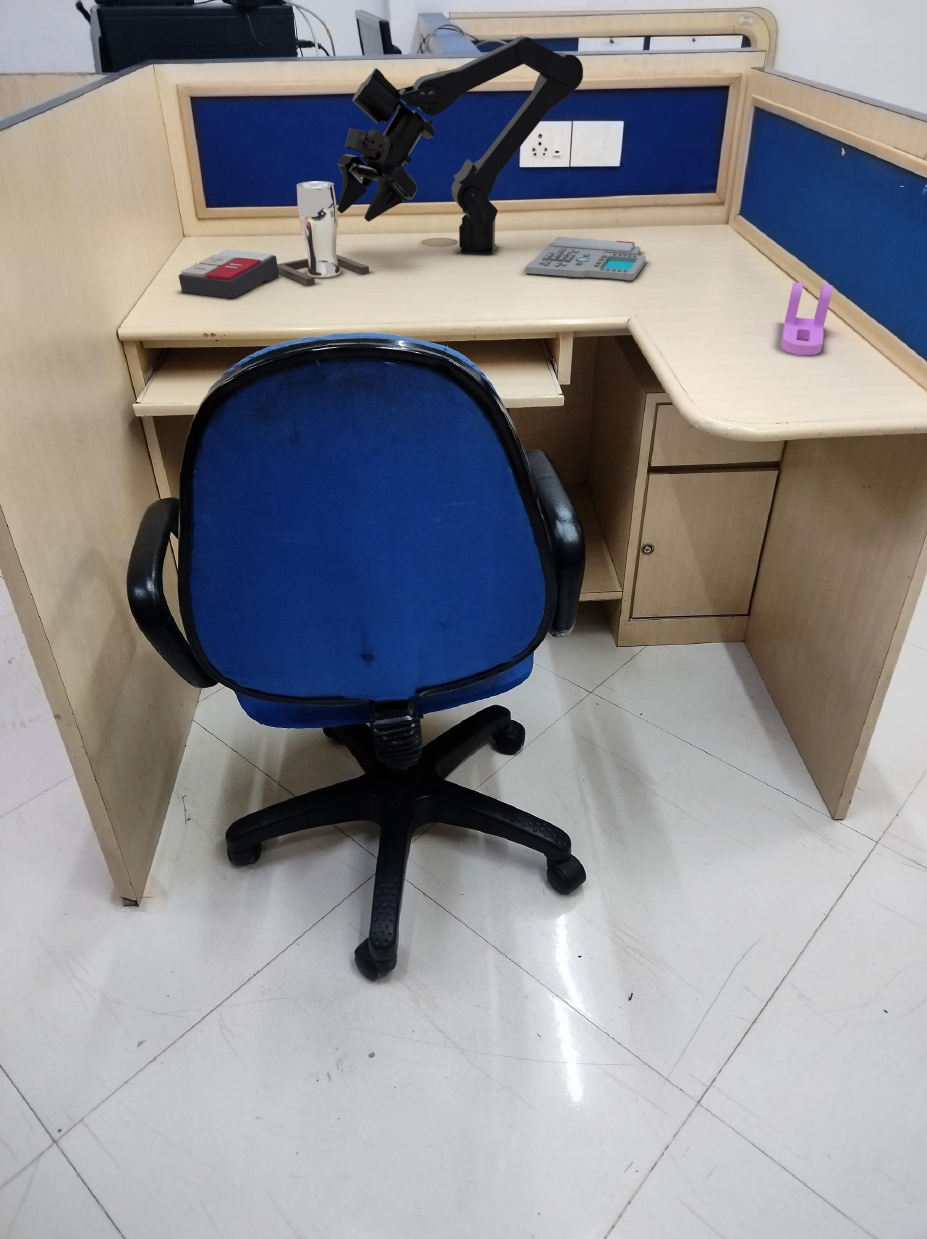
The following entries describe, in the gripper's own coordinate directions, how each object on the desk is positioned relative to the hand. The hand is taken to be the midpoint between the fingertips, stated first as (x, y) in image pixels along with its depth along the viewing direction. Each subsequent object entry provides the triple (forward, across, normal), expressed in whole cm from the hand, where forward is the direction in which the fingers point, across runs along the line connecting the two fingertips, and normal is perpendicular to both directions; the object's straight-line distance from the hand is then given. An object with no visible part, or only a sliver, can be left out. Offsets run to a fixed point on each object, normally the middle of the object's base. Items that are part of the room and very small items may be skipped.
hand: (352, 215), depth 157 cm
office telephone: (-19, +28, +32) cm, 46 cm away
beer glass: (+12, +1, +1) cm, 12 cm away
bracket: (-14, +79, +26) cm, 84 cm away
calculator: (+24, -4, -11) cm, 26 cm away
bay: (+12, 0, +1) cm, 12 cm away
